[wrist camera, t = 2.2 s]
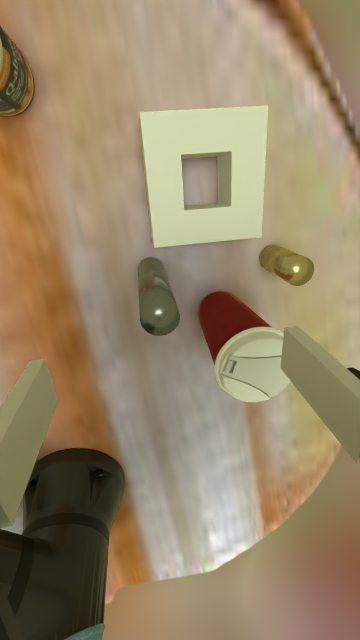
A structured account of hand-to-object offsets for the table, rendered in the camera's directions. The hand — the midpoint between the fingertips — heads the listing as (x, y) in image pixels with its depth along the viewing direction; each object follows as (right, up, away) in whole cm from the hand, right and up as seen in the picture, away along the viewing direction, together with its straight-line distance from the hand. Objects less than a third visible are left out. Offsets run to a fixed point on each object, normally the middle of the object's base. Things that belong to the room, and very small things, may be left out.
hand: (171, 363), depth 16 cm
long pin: (-3, +8, +18) cm, 20 cm away
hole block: (+2, +17, +15) cm, 23 cm away
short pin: (+12, +10, +20) cm, 25 cm away
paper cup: (+6, +4, +22) cm, 23 cm away
